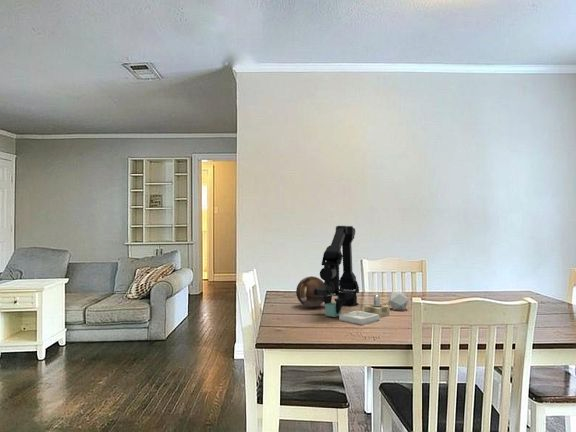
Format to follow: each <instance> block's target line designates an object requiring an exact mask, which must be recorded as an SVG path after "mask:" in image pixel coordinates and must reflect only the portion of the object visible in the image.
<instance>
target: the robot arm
mask: <svg viewBox="0 0 576 432" xmlns="http://www.w3.org/2000/svg"><path fill="white" fill-rule="evenodd" d="M355 235H356V228H355V227H353V225H336V226H335V232H334V235H333V239H332V241H331V243H330V245H329V246H327V247H326V249H325V251H324V252H323V255H322V260H321V266H323V267H322V268H321V269H320V270H319V276H320V279H321V280H322V281H323V282H324V284H323V285H321V286H320V287H318V288H315V290H314V295H319V297H320V298H322V299H323V301H324V302H323V303H324V305H325V304H327V303H332V300H334V301H335V303H336V313H337V314H339V312H340V310H341V311H342V307H343V306H349V307H352V306H355V305H359V303H358V299H357V298H358V296H357V294H358V293H360V287H359V283H358V280H357V277H356V275H355V273H354V272H353V254H352V253H353V251H352V249H353V248H352V247H353V246H352V243H353V241H354V239H355ZM341 249H342V250H341ZM341 264H342V275H341V277H340V265H341ZM333 296H334V297H336V298H334V299H333Z"/></svg>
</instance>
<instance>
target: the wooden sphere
mask: <svg viewBox="0 0 576 432" xmlns="http://www.w3.org/2000/svg"><path fill="white" fill-rule="evenodd" d="M323 284H324V280H322V279H321V278H319V277H317V276H306V277H304V278H302V279H301V280H300V281H299V283H298V284H297V286H296V293H295V294H296V297H297V300H298V302H300V303H301V305H303V306H304V307H307V308H316V307H317V308H318V307H319V306H321V305H322V304H323V303H324V301H323V299H322V298H320V297H319V295H314V290H315V288H318V287H320V286H321V285H323Z"/></svg>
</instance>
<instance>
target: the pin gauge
mask: <svg viewBox="0 0 576 432" xmlns="http://www.w3.org/2000/svg"><path fill="white" fill-rule="evenodd" d="M380 296H381V295H380V294H373V304H374V307H380V305H381V304H380V303H381V302H380V299H381V298H380Z"/></svg>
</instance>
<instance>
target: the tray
mask: <svg viewBox="0 0 576 432" xmlns="http://www.w3.org/2000/svg"><path fill="white" fill-rule="evenodd" d="M338 318H339V319H338V321H341V322H345V323H349V324H354V325H359V326H364V325H368V324H371V323H375V322H378V321H380V318H379V315H378V314H373V313H367V312H364V311H360V310H354V311H349V312H344V313H341V314H340V315H339V316H338Z"/></svg>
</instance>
